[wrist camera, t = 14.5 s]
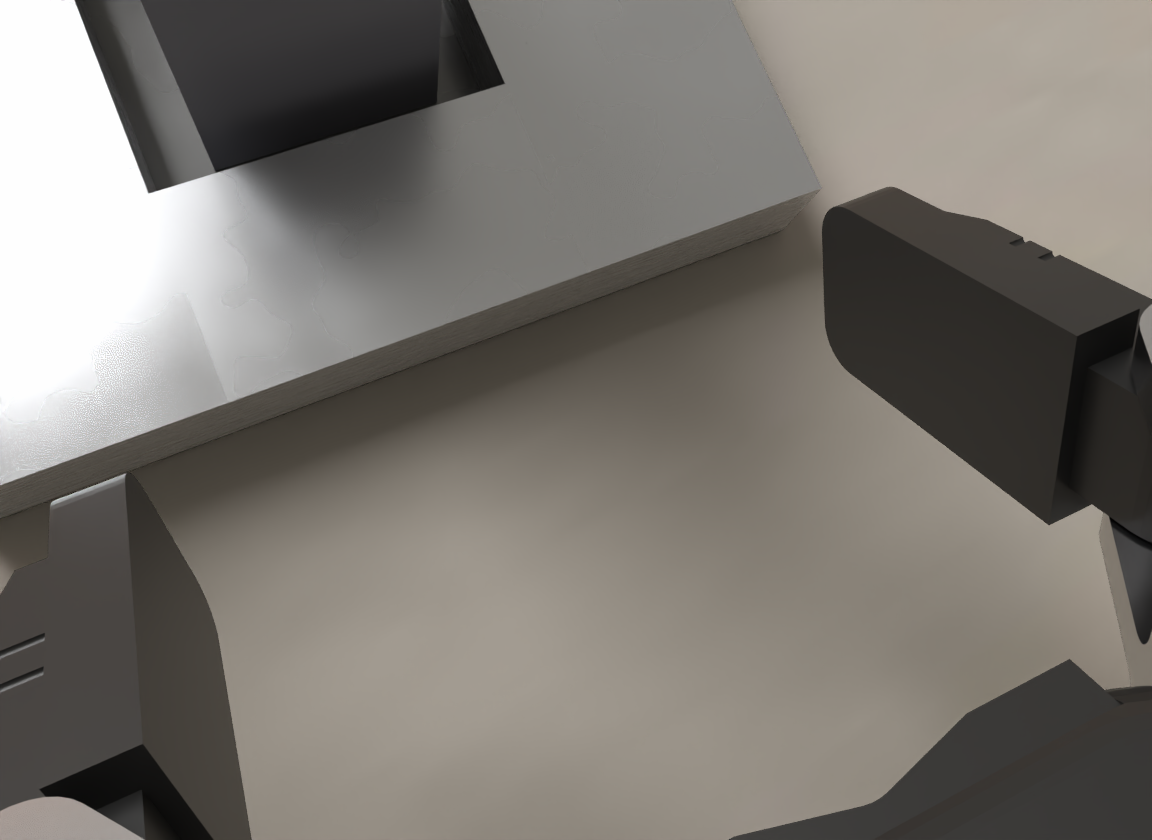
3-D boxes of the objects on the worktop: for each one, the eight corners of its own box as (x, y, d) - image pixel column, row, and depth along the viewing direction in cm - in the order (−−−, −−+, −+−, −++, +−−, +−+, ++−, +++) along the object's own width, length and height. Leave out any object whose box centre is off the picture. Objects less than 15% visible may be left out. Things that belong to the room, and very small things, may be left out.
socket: (-29, 529, 17) (-108, 511, 14) (-266, -163, 19) (-372, -287, 16) (782, 229, 20) (834, 173, 18) (519, -327, 22) (533, -450, 20)
